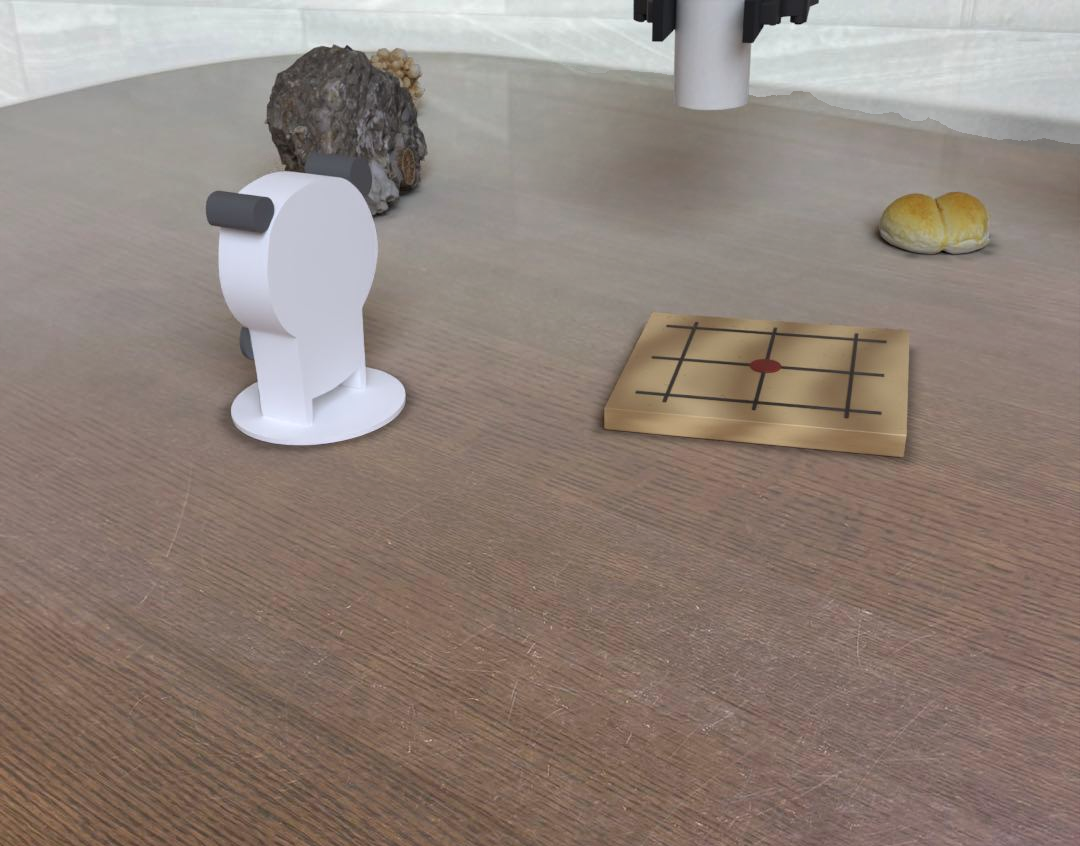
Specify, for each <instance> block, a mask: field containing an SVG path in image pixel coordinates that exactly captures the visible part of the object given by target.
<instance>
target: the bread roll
mask: <svg viewBox="0 0 1080 846" xmlns="http://www.w3.org/2000/svg"><path fill="white" fill-rule="evenodd" d="M990 224H991V214H989V210H988V209H987V208H986V207H985V205H984V203H983V202H982V201H981V200H980V199H978V198H977V197H975V196H974V195H971V194H969V193H966V192H962V191H951V192H947V193H945V194H942V195H939V196H937V197H936V198H934V197H931V196H929V195H927V194H924V193H917V192H916V193H910V194H909V193H908V194H906V195H902V196H900V197H898V198H896V199H895V200H894V201H892V202H890V204H889V205H888V206H887V207H886V208H885V209H884V211H883V212H882V215H881V217H880V219H879V225H878V230H879V234H880V236H881V237H882V238H883V239H884V241H885V242H887V243H889V244H890V245H891V246H893V247H897V248H899V249H902V250H905V251H908V252H911V253H915V254H925V255H935V254H938V253H941V252H942V251H943V252H946V253H947V254H951V255H961V254H967V253H972V252H975V251H977V250H981V249H983V248H984V247H986V246H988V244H990V240H991V239H990Z"/></svg>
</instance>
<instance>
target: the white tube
mask: <svg viewBox="0 0 1080 846" xmlns="http://www.w3.org/2000/svg"><path fill="white" fill-rule="evenodd" d="M743 18H744V0H676V7H675V30H674V53H673V61H674V62H673V98H672V102H673V104H674V105H675V106H677V107H679V108H682V109H685V110H686V109H687V110H693V111H725V110H726V111H727V110H732V109H737V108H741V107H743V106H745V105H747V104H748V103H749V96H750V94H749V93H750V74H751V57H752V55H751V54H752V43H742V36H743Z"/></svg>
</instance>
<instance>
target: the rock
mask: <svg viewBox="0 0 1080 846" xmlns="http://www.w3.org/2000/svg"><path fill="white" fill-rule="evenodd" d="M369 60H370V59H369V58H368V56H367V55H366V53H365V51H364V52H363V51H362V50H356V49H354V48H352V47H351V46H350V45H349V44H346V45H345V46H344V47H341V46H339V45H338V44H334V43H333V44H332V46H331V47H329V46H326V45H320V46H316V47H313V48H312V49H311V50H309V51H307V52H306V53H304V54H303V55H301V56H300V57H298V58H297V59H296V60H295V61H294V62H293V63H292V64H291V65H290V66H289V67H287V68H286V69H284V70H282V71H280V72H278V73H276V76H275V79H274V80H275V81H274V84H273V86H272V87H271V94H269V101H268V103H267V104H266V119H265V120H264V122H263V124H266V125H267V126H268V131H269V133H270V135H271V141H272V143H273V144H274V146H275V147H276V150H277V153H278V155H279V158H280V163H281V165H282V166H285V168H284V171H291V172H299V173H305V164H306V161H307V159H308V157H309V155H310V154H311V153H313V152H317V153H325V154H334V155H343V156H352V157H360V158H363V159H365V160H366V161H367V162H368V164H369V166H370V169H371V173H372V187H371V190H370V193H369V194H368V195H367V196H366V197H364V199H365V201H366V203H367V205H368V207H369V210H370V212H371V215H372V216H375V215H376V214H383V213H384V212H385V211H387V210H389V209H390V206H392V205H393V204H394V203H396V202H397V201H399V198H400V192H401V191H410V190H413V189H414V188H415V187H416V186H417V184H418V183H421V182H422V177H421V173H420V172H421V171H422V170H423V168H422V165H421V162H425V161H426V160H425V159H426V158H425V156H427V155H428V154H429V152H428V146H427V143H426V137H425V134H424V132H423V131H422V130H421V128H419V122H418V109H417V110H416V107H415V105H414V103H413V100H412V96H411V94H410V92H409V91H408V89H407V87H400V81H399V78H398V77H395V76H394V75H393V73H391V72H388V71H386V70H377V69H376V67H375V66H373V65H372V64H371V63H370V62H369Z"/></svg>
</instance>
